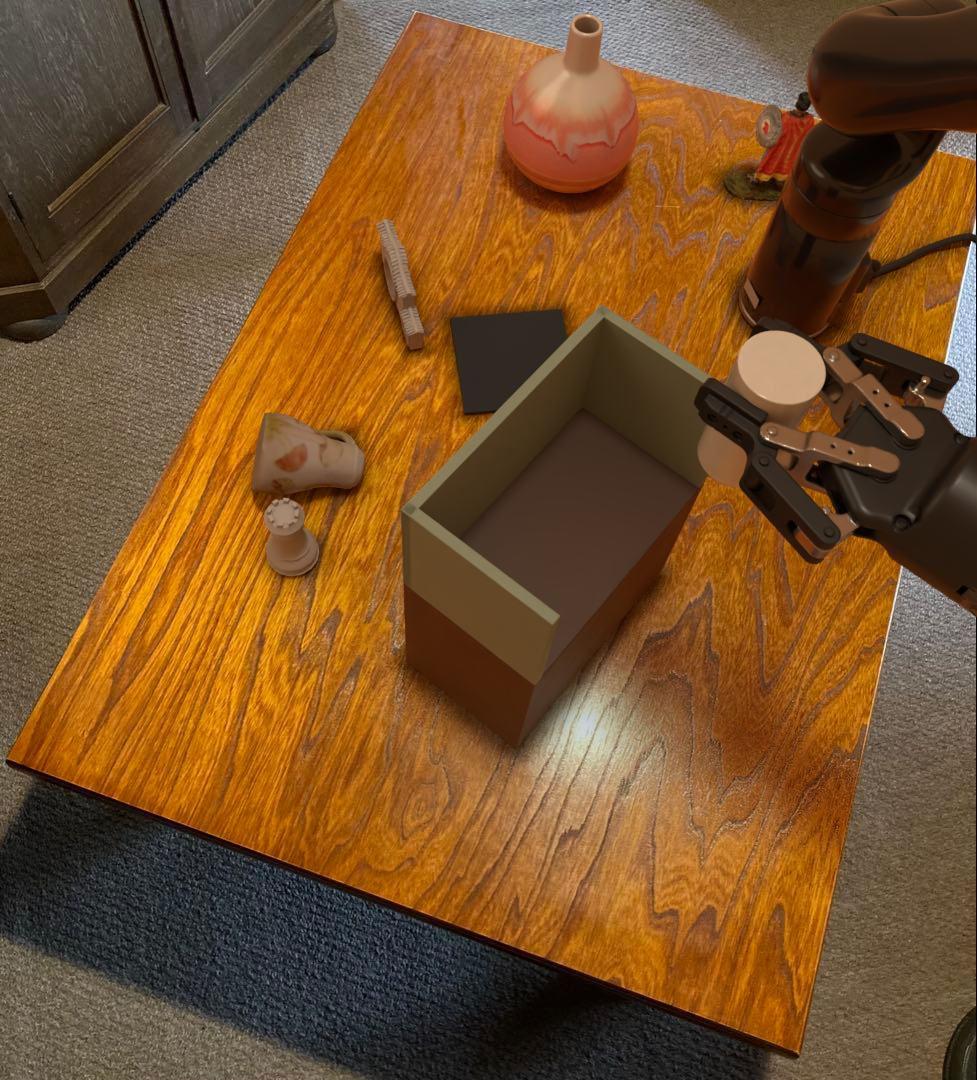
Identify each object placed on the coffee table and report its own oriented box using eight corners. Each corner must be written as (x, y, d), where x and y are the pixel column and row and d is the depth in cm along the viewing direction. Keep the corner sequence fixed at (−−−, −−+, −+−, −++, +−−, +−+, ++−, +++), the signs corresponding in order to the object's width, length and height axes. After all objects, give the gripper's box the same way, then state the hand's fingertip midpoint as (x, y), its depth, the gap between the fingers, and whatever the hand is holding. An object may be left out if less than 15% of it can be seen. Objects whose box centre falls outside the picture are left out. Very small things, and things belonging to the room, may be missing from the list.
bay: (661, 571, 94) (745, 398, 70) (515, 749, 86) (552, 625, 62) (556, 495, 97) (601, 303, 72) (405, 661, 89) (400, 509, 65)
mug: (373, 511, 95) (309, 480, 86) (283, 513, 99) (213, 484, 90) (383, 430, 97) (320, 392, 88) (293, 436, 101) (225, 400, 92)
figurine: (803, 172, 116) (843, 80, 105) (802, 209, 113) (842, 119, 103) (725, 160, 116) (756, 67, 105) (722, 196, 114) (754, 105, 103)
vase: (492, 124, 116) (504, -25, 101) (616, 119, 118) (647, -28, 102) (507, 221, 110) (522, 79, 95) (638, 215, 112) (673, 74, 96)
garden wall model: (425, 350, 103) (425, 311, 97) (407, 353, 102) (406, 314, 97) (395, 254, 108) (393, 212, 102) (377, 257, 107) (375, 215, 102)
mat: (561, 311, 106) (561, 308, 105) (580, 405, 101) (581, 402, 101) (449, 319, 104) (450, 317, 104) (464, 415, 100) (464, 413, 99)
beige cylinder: (763, 418, 65) (813, 326, 57) (783, 485, 63) (836, 400, 55) (689, 424, 64) (728, 333, 56) (706, 492, 62) (749, 408, 54)
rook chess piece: (327, 541, 93) (320, 497, 86) (307, 585, 91) (297, 544, 84) (280, 525, 94) (268, 479, 87) (258, 568, 92) (244, 526, 85)
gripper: (1112, 414, 53) (819, 234, 57) (979, 621, 48) (665, 406, 52) (1034, 487, 60) (777, 321, 64) (909, 675, 55) (637, 482, 58)
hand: (728, 360), depth 58 cm, fingers closed on beige cylinder, 4 cm apart
